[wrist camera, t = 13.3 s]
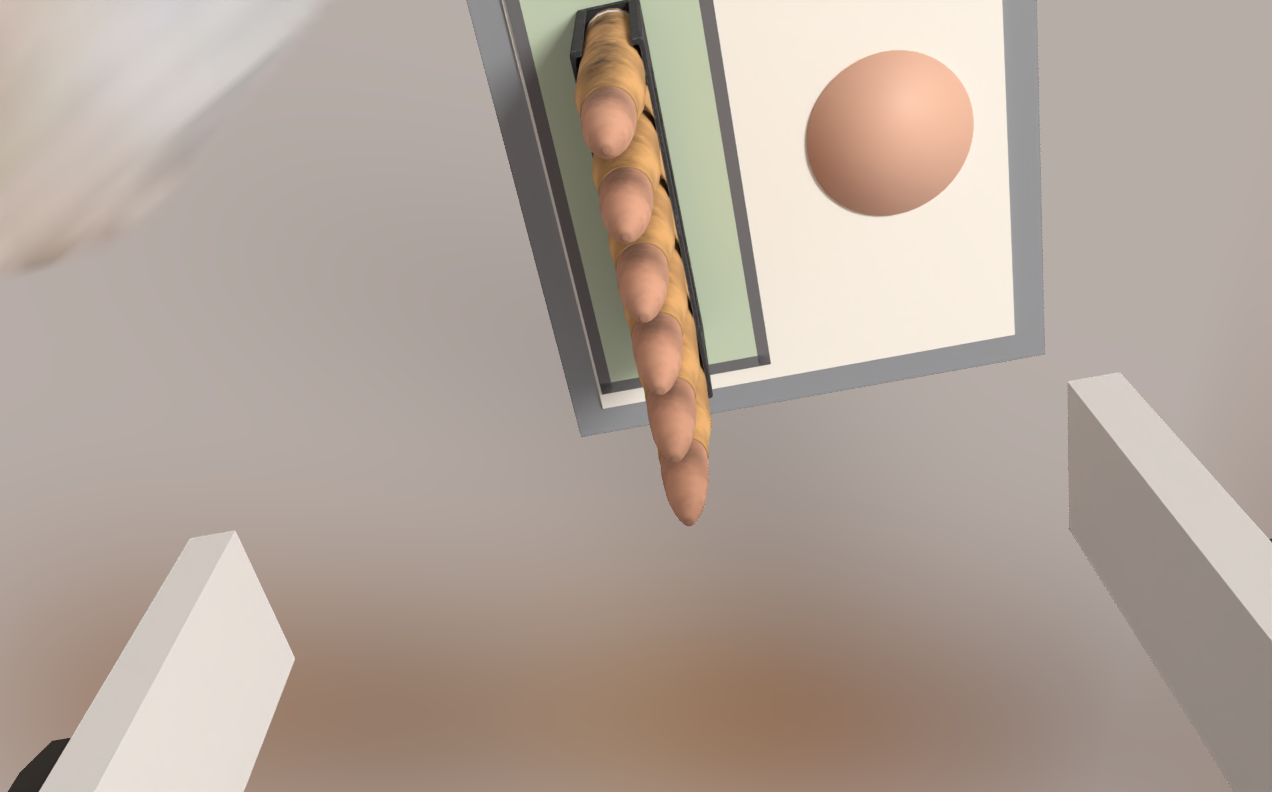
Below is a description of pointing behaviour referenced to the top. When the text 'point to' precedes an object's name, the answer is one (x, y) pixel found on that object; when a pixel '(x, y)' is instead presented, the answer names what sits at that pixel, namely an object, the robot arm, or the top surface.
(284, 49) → the top surface
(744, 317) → the board
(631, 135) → the ammunition clip
